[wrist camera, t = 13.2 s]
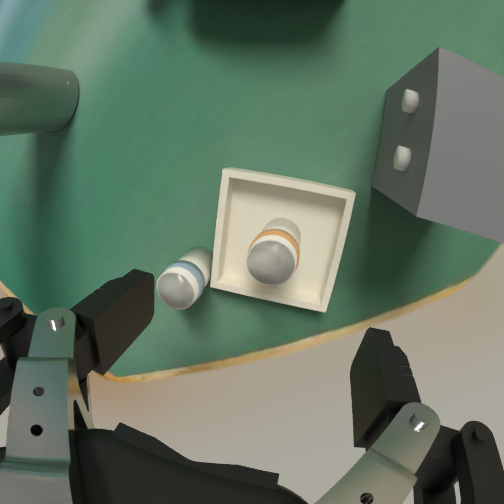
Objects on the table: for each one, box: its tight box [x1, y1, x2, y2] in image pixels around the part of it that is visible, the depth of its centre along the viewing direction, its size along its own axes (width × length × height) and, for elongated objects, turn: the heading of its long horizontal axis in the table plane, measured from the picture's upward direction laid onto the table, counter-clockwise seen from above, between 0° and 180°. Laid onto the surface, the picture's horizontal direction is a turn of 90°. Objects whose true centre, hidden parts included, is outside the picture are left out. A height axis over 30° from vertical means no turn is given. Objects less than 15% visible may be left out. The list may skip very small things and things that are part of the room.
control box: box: [372, 47, 504, 244], centre depth 18 cm, size 9×10×14 cm
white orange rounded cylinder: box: [246, 218, 301, 286], centre depth 27 cm, size 4×4×7 cm
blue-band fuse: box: [157, 247, 213, 310], centre depth 30 cm, size 4×4×7 cm
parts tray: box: [210, 167, 356, 312], centre depth 29 cm, size 12×12×2 cm
